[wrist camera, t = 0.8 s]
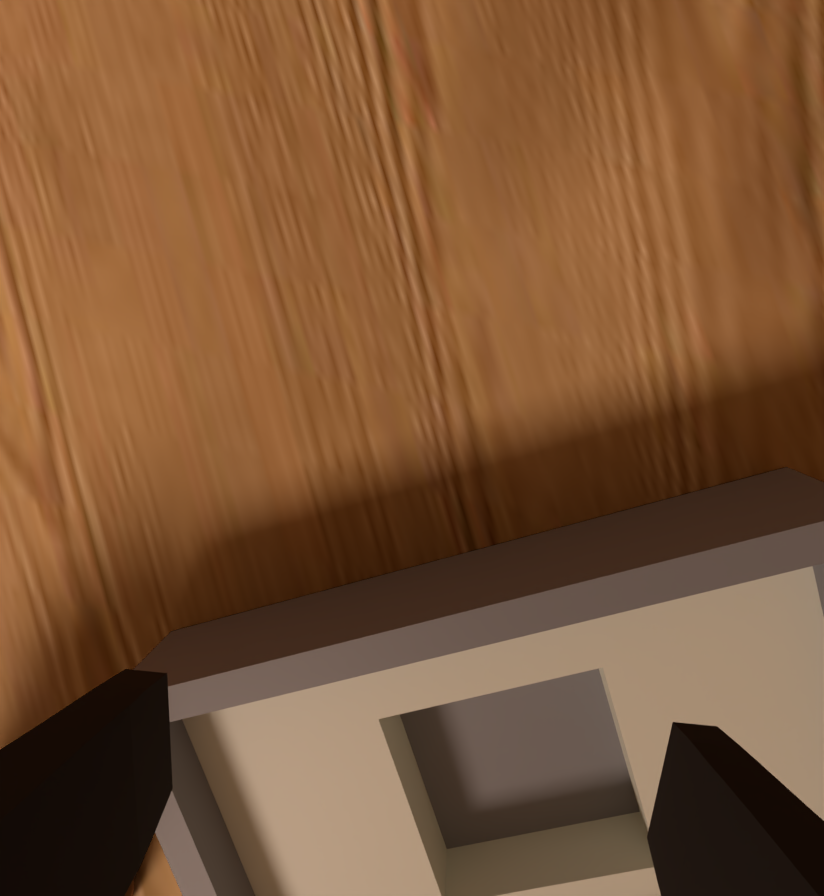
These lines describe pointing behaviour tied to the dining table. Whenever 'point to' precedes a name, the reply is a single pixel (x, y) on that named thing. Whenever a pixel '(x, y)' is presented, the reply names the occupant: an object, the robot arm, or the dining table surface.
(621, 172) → the dining table surface
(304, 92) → the dining table surface
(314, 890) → the open box
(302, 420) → the dining table surface
